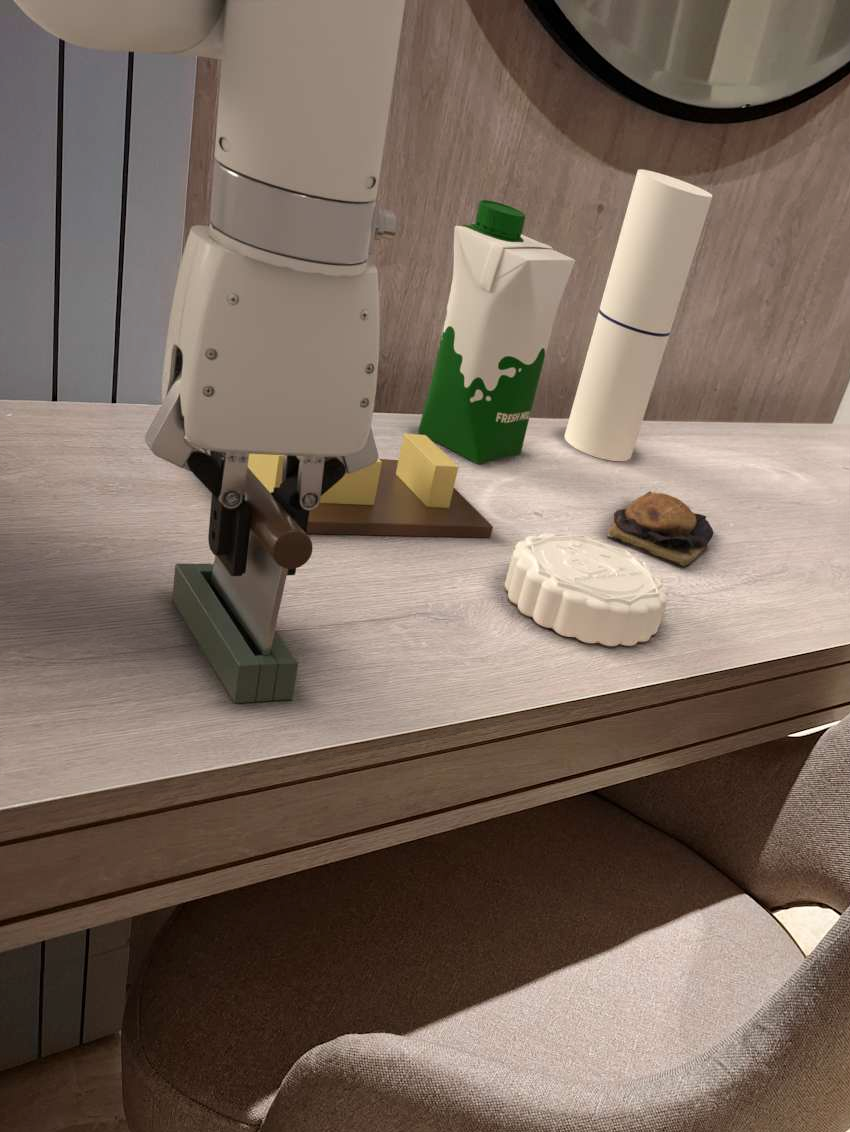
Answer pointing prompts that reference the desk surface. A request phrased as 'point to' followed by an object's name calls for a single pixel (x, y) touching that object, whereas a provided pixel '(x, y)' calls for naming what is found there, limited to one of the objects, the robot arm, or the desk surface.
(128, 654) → the desk surface
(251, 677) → the holder
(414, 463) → the butter slice
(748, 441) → the desk surface
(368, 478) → the butter block
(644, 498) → the open sandwich
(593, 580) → the mooncake
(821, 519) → the desk surface
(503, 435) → the milk carton
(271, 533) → the butter cutter
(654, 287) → the cylindrical container
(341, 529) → the butter board
